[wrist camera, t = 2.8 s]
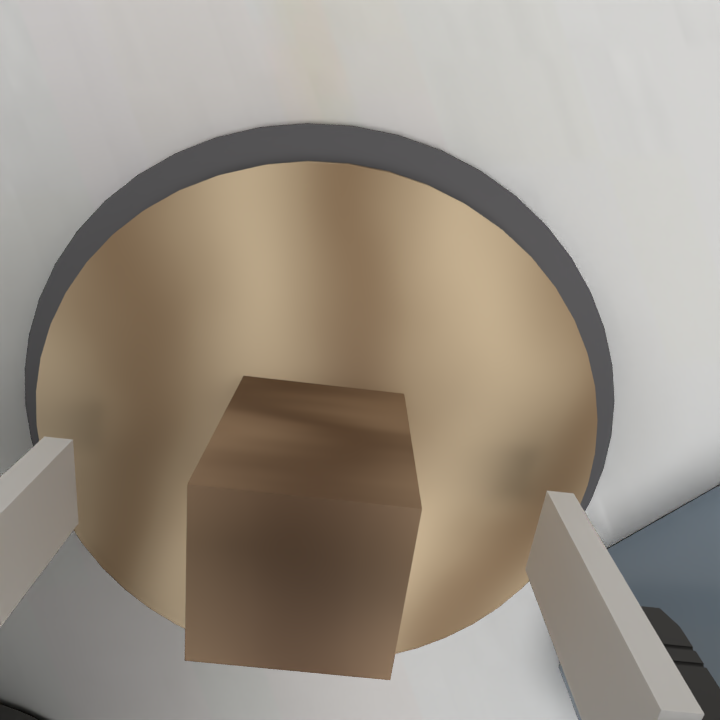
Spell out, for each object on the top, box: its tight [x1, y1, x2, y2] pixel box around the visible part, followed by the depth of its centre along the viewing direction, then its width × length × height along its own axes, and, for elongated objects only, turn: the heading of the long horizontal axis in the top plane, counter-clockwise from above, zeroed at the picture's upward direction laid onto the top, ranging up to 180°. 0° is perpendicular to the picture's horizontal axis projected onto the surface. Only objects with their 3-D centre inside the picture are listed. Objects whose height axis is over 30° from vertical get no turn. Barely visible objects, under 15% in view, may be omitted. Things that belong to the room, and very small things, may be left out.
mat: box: [25, 123, 614, 583], centre depth 20 cm, size 20×20×1 cm
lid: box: [36, 161, 598, 680], centre depth 16 cm, size 18×18×7 cm
